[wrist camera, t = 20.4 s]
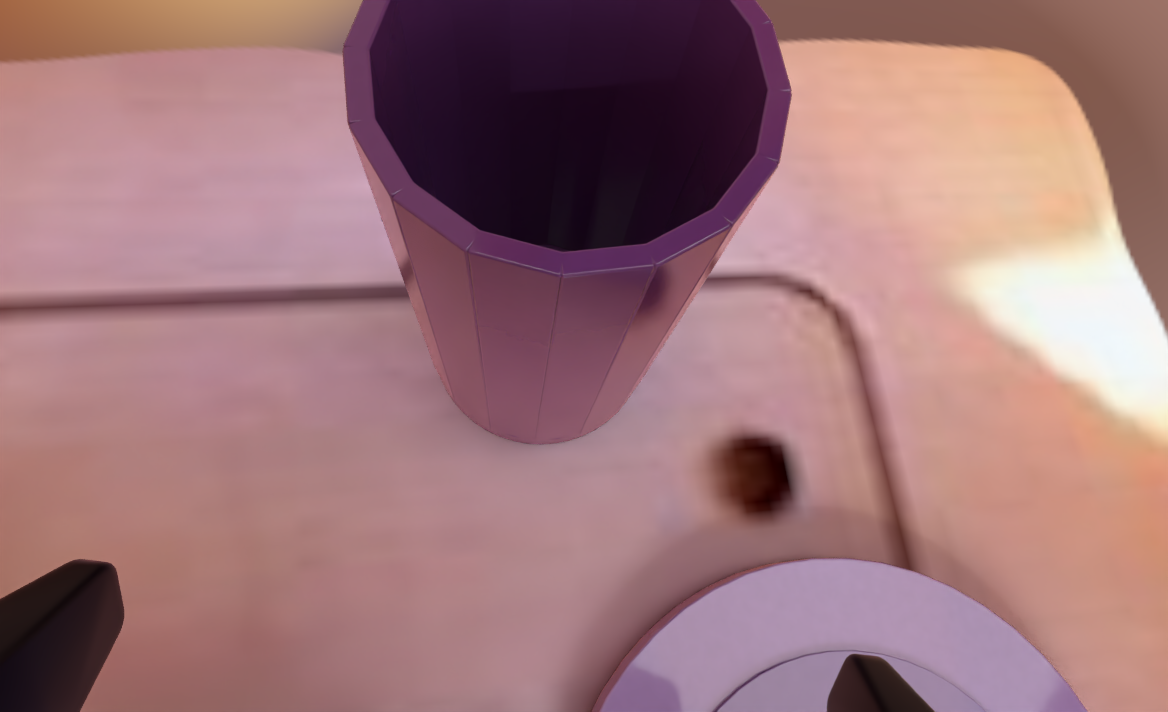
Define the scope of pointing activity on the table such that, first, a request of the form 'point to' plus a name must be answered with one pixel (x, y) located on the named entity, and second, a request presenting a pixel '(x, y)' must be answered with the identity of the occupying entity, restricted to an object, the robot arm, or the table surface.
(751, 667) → the plate
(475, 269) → the tumbler
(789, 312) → the table surface
